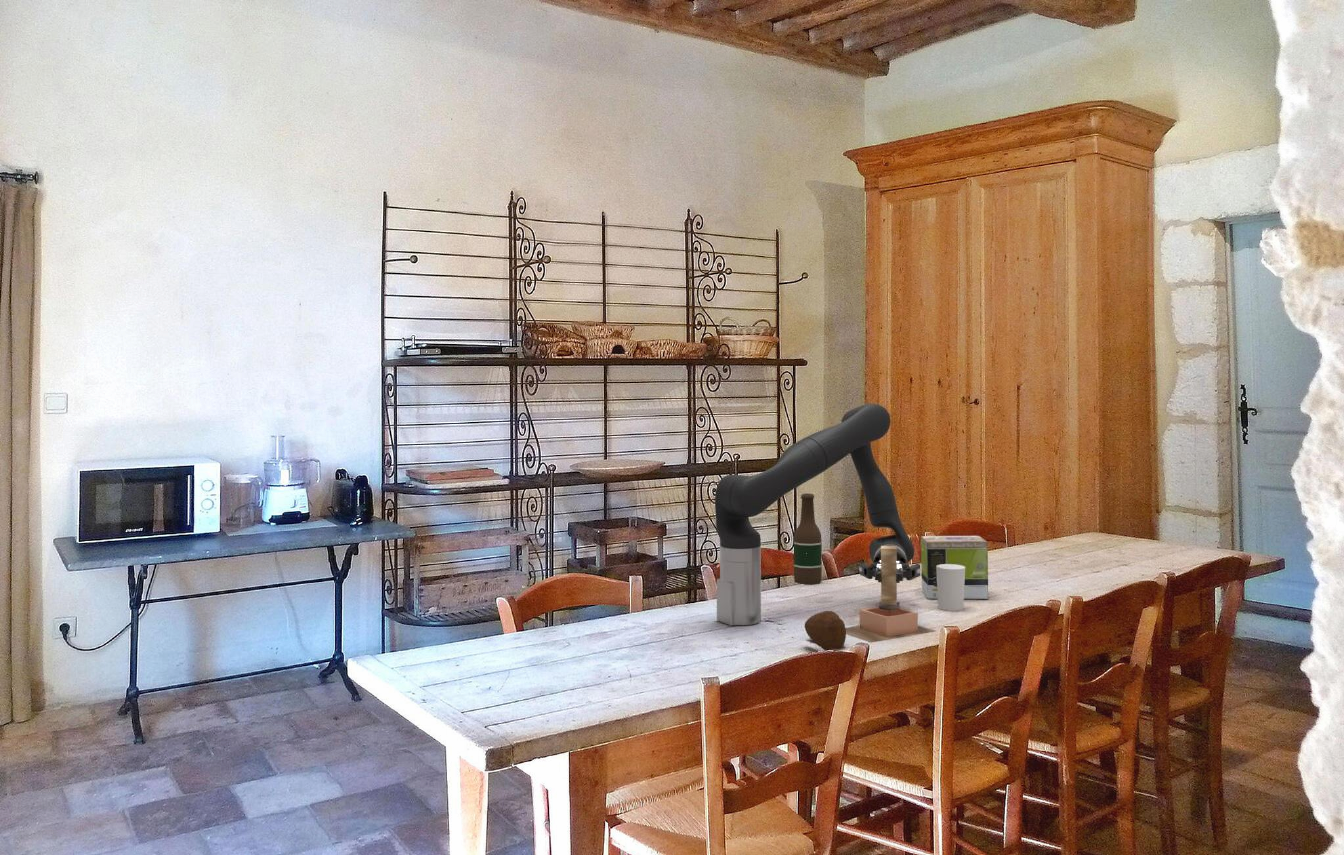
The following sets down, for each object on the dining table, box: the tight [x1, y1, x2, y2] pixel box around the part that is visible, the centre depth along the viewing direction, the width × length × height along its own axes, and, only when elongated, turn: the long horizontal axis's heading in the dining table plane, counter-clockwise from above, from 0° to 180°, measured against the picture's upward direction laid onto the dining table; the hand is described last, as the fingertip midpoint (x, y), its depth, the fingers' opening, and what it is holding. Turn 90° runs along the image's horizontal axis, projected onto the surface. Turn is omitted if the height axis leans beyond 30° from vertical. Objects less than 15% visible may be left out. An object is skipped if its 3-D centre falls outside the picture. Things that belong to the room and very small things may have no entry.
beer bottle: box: [793, 493, 823, 585], centre depth 270 cm, size 8×8×24 cm
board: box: [845, 625, 936, 643], centre depth 212 cm, size 18×12×1 cm, turn 119°
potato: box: [804, 610, 847, 651], centre depth 202 cm, size 7×10×8 cm
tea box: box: [920, 535, 989, 600], centre depth 251 cm, size 15×10×15 cm, turn 84°
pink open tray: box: [859, 606, 919, 637], centre depth 213 cm, size 9×9×4 cm
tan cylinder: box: [878, 546, 901, 610], centre depth 212 cm, size 4×4×13 cm
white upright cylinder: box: [936, 564, 965, 612], centre depth 237 cm, size 7×7×10 cm
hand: (888, 577), depth 209 cm, fingers closed on tan cylinder, 3 cm apart
